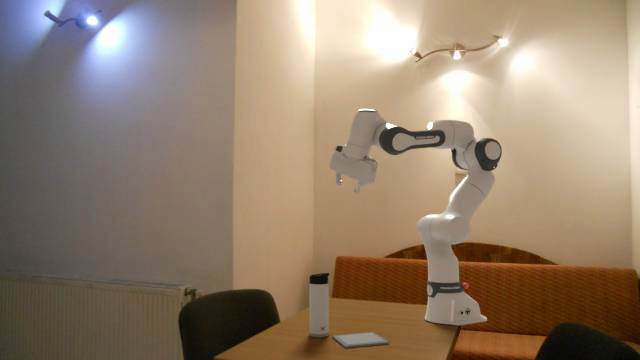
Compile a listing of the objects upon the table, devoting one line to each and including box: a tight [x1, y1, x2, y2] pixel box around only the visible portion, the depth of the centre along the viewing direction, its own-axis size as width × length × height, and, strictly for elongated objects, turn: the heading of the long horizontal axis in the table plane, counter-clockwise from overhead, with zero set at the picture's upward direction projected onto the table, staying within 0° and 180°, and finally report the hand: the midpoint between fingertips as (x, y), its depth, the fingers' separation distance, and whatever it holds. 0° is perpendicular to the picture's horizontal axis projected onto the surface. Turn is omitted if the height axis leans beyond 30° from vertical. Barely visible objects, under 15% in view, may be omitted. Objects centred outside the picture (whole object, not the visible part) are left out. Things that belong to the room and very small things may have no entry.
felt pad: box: [331, 331, 390, 349], centre depth 141 cm, size 14×12×1 cm
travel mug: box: [308, 272, 330, 339], centre depth 149 cm, size 6×7×20 cm
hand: (347, 188), depth 169 cm, fingers open, 8 cm apart
